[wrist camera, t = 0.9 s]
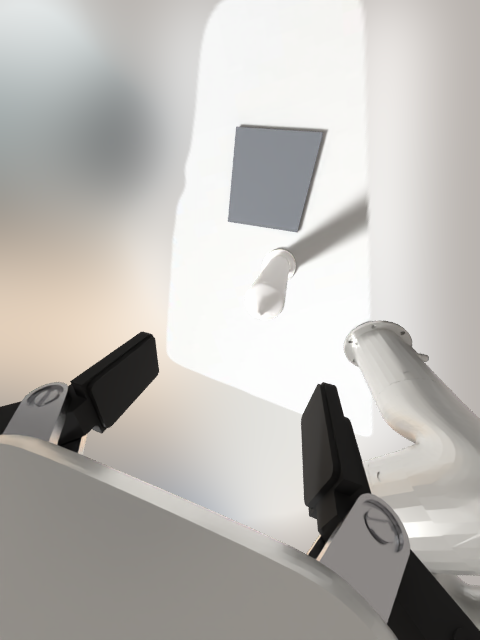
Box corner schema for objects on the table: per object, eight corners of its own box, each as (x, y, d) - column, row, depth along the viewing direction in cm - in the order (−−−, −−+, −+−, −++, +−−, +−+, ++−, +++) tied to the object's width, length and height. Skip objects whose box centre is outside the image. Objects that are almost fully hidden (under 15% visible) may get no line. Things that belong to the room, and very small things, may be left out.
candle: (295, 247, 37) (297, 275, 15) (295, 281, 40) (296, 346, 18) (261, 250, 39) (218, 281, 17) (263, 283, 42) (230, 344, 20)
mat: (322, 134, 29) (323, 132, 28) (297, 232, 35) (297, 232, 35) (237, 129, 31) (236, 126, 30) (229, 221, 38) (227, 221, 37)
